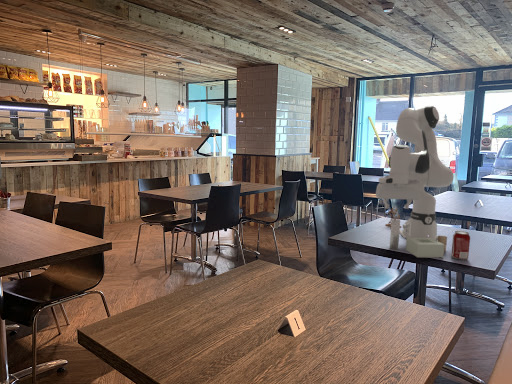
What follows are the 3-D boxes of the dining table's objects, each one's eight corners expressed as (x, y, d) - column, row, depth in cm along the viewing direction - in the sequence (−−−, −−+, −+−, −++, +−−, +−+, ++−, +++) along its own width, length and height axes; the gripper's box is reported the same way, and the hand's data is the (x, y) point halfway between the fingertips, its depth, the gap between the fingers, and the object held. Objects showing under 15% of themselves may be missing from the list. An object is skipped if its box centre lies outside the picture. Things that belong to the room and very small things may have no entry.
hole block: (405, 249, 188) (406, 237, 187) (430, 250, 189) (431, 237, 188) (417, 257, 176) (418, 244, 175) (443, 257, 177) (444, 244, 176)
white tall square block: (388, 247, 191) (390, 219, 190) (396, 247, 192) (398, 219, 190) (391, 249, 187) (393, 221, 186) (399, 249, 188) (401, 221, 186)
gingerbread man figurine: (401, 227, 237) (403, 208, 235) (397, 228, 235) (399, 208, 233) (389, 225, 244) (390, 206, 242) (385, 225, 242) (386, 206, 240)
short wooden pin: (434, 249, 190) (436, 235, 189) (443, 249, 190) (444, 235, 189) (439, 251, 186) (440, 237, 185) (447, 252, 186) (448, 237, 185)
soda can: (470, 261, 172) (472, 234, 171) (453, 259, 174) (456, 233, 172) (465, 256, 179) (467, 231, 177) (449, 255, 180) (451, 230, 179)
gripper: (417, 179, 189) (414, 207, 190) (375, 178, 188) (373, 207, 189) (423, 180, 183) (421, 210, 184) (380, 179, 181) (378, 209, 183)
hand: (396, 208), depth 187 cm, fingers open, 8 cm apart
